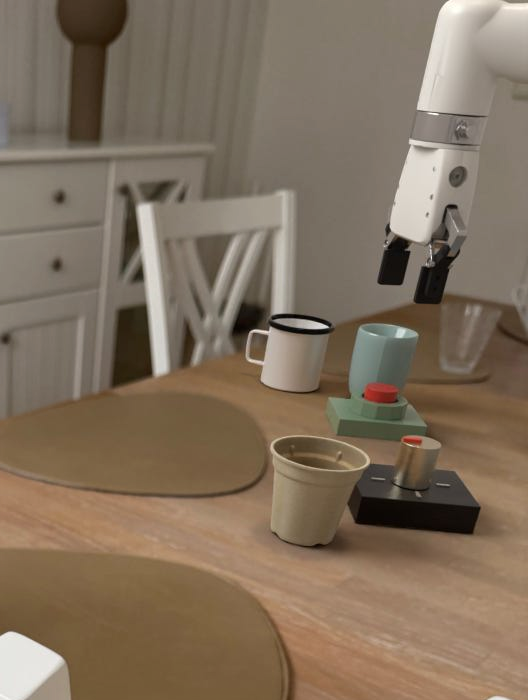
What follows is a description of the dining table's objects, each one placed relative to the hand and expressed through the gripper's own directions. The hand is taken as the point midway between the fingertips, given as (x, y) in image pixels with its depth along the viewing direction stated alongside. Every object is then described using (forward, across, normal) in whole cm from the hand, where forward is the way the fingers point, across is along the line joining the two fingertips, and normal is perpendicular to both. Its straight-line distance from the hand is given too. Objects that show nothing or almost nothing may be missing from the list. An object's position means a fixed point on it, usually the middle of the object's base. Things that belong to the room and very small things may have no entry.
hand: (407, 293), depth 116 cm
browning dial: (+14, -23, +7) cm, 28 cm away
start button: (+14, +3, -1) cm, 14 cm away
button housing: (+18, +3, -1) cm, 18 cm away
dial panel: (+18, -23, +7) cm, 30 cm away
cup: (+18, +13, -6) cm, 23 cm away
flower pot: (+18, -29, +20) cm, 40 cm away
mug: (+18, +22, +5) cm, 28 cm away
